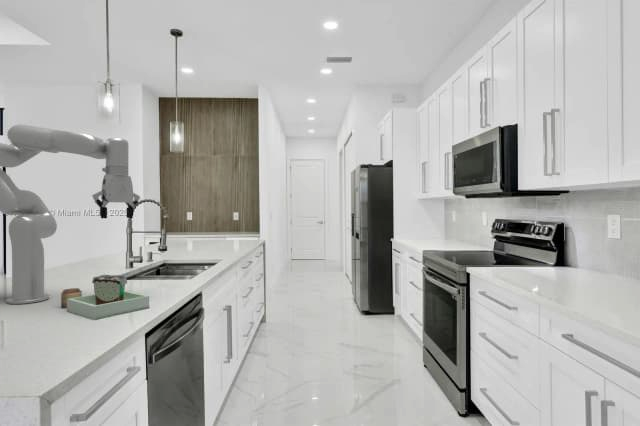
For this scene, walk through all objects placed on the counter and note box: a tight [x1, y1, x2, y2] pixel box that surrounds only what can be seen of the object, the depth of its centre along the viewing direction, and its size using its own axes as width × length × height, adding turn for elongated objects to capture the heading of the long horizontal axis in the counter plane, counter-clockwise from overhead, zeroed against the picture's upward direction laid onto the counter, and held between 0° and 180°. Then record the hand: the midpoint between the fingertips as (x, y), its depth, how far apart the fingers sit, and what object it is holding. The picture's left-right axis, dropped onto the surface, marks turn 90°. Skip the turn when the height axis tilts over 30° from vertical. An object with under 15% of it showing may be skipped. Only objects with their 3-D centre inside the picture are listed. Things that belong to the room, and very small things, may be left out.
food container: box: [91, 274, 128, 305], centre depth 135 cm, size 12×6×10 cm, turn 73°
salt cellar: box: [60, 287, 83, 309], centre depth 137 cm, size 6×6×6 cm
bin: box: [66, 290, 150, 321], centre depth 133 cm, size 18×18×4 cm
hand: (117, 218), depth 148 cm, fingers open, 9 cm apart
